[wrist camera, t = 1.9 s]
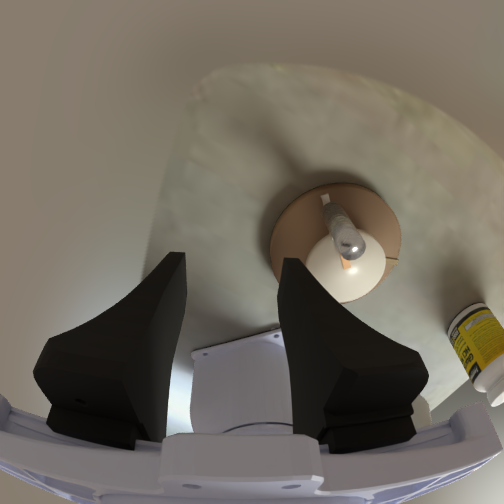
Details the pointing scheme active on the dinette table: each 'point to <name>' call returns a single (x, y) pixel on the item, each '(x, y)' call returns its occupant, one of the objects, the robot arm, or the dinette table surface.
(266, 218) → the dinette table surface
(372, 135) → the dinette table surface
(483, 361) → the pill bottle
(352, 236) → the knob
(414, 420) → the salt shaker
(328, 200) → the base
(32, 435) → the robot arm
